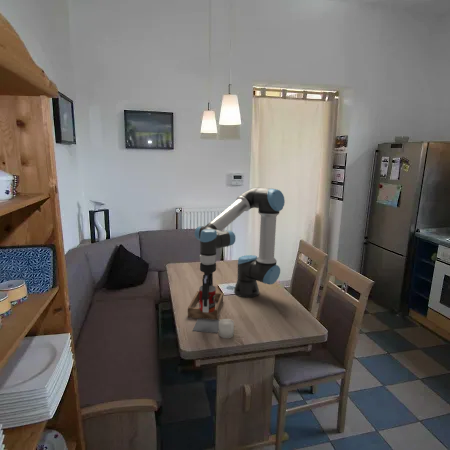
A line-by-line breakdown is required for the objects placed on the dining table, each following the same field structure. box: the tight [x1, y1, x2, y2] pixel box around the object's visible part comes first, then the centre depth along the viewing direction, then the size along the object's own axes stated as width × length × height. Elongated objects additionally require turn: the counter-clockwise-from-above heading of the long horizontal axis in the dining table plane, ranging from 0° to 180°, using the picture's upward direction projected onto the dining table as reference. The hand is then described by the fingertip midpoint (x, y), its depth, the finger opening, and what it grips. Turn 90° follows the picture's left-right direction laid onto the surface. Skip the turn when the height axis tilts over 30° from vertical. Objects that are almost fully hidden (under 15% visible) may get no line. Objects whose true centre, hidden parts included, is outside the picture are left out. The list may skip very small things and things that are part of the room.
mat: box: [192, 318, 221, 334], centre depth 155 cm, size 12×12×1 cm
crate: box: [187, 291, 224, 320], centre depth 172 cm, size 15×22×5 cm
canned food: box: [198, 285, 217, 313], centre depth 152 cm, size 8×8×11 cm
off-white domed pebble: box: [218, 318, 235, 339], centre depth 147 cm, size 7×7×6 cm
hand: (207, 308), depth 153 cm, fingers closed on canned food, 8 cm apart
